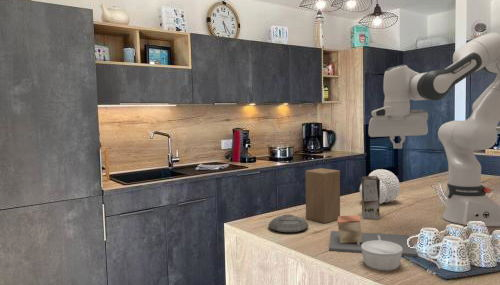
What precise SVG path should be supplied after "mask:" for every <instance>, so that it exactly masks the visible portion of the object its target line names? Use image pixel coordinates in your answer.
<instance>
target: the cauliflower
mask: <svg viewBox="0 0 500 285" xmlns="http://www.w3.org/2000/svg"><path fill="white" fill-rule="evenodd" d="M367 176H377V177H378V178H379V179H380V205H382V204H383V203H391V202H394V201H395V200H396V199H397V198H398V196H399V195H400V191H401V184H400V181H399V179H398V177H397V175H395V173H393V172H392V171H390V170H387V169H383V168H381V169H380V168H379V169H375V170H373V171H371V172H370V173H369V174H368V175H367ZM359 195H360V197H361V199H362V183H361V184H360V186H359Z"/></svg>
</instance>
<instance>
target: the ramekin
mask: <svg viewBox="0 0 500 285" xmlns="http://www.w3.org/2000/svg"><path fill="white" fill-rule="evenodd" d="M361 250H362V253H361V254H362V258H363V261H364V264H365V265H366V266H367V267H369V268H371V269H373V270H377V271H393V270H397V269H398V268H399V266H400V265H401V261H402V253H403V248H402V247H401V246H400V245H398V244H396V243H393V242H389V241H382V240H373V241H367V242H364V243H363V244H362V245H361Z"/></svg>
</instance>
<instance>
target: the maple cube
mask: <svg viewBox="0 0 500 285" xmlns="http://www.w3.org/2000/svg"><path fill="white" fill-rule="evenodd" d="M361 226H362V225H361V218H360V214H354V215H353V214H351V215H340V216H338V220H337V227H338V231H339V237H340V243H353V242H362V234H361V232H362V228H361Z"/></svg>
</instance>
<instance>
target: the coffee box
mask: <svg viewBox="0 0 500 285" xmlns="http://www.w3.org/2000/svg"><path fill="white" fill-rule="evenodd" d="M361 184H362V198H361V214H362V217H363V219H374V220H380V205H381V204H380V179H379V178H378V177H377V176H368V175H367V176H366V175H365V176H361Z"/></svg>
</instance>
